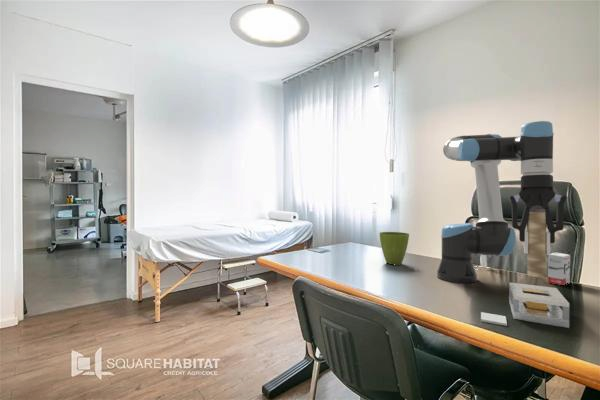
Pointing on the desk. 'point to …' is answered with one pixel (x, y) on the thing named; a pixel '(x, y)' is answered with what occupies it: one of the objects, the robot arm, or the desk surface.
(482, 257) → the figurine
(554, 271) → the ink box
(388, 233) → the flower pot
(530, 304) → the breaker button
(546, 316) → the grey slotted box
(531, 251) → the tan wooden bar
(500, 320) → the rest pad
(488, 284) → the desk surface
